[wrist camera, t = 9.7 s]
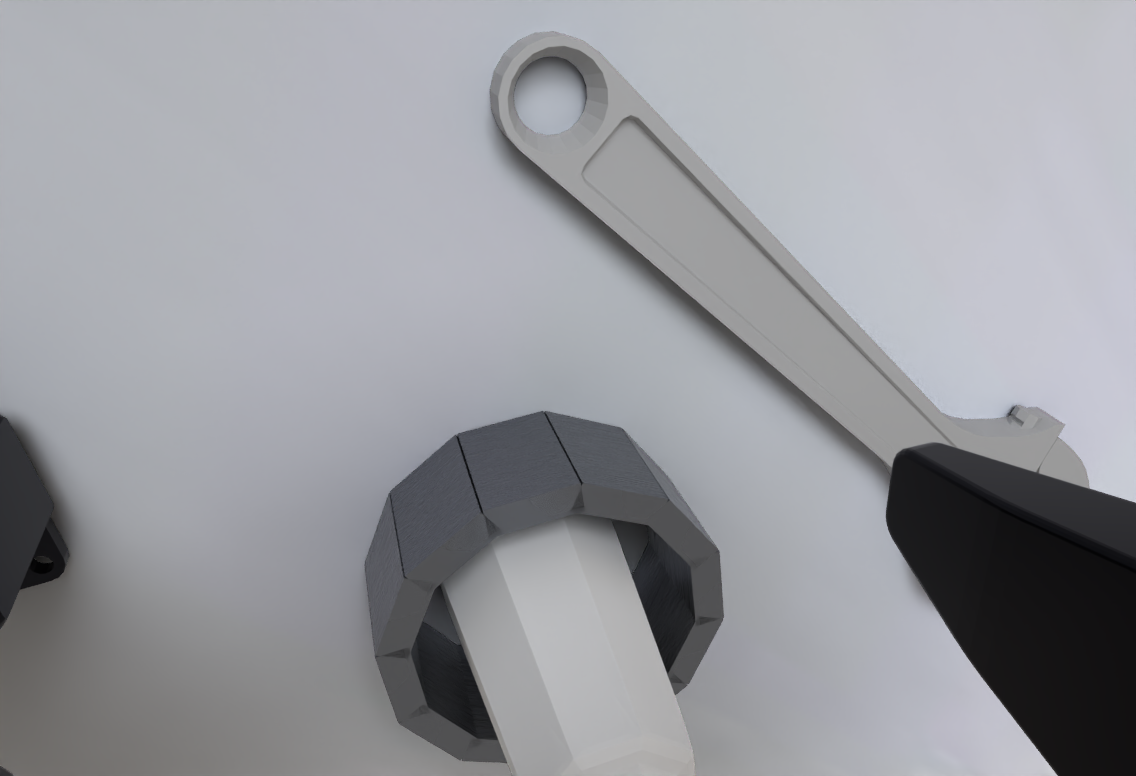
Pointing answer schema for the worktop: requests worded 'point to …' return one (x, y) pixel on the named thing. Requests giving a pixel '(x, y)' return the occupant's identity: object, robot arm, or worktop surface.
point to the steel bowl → (506, 504)
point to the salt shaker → (567, 654)
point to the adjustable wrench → (746, 267)
